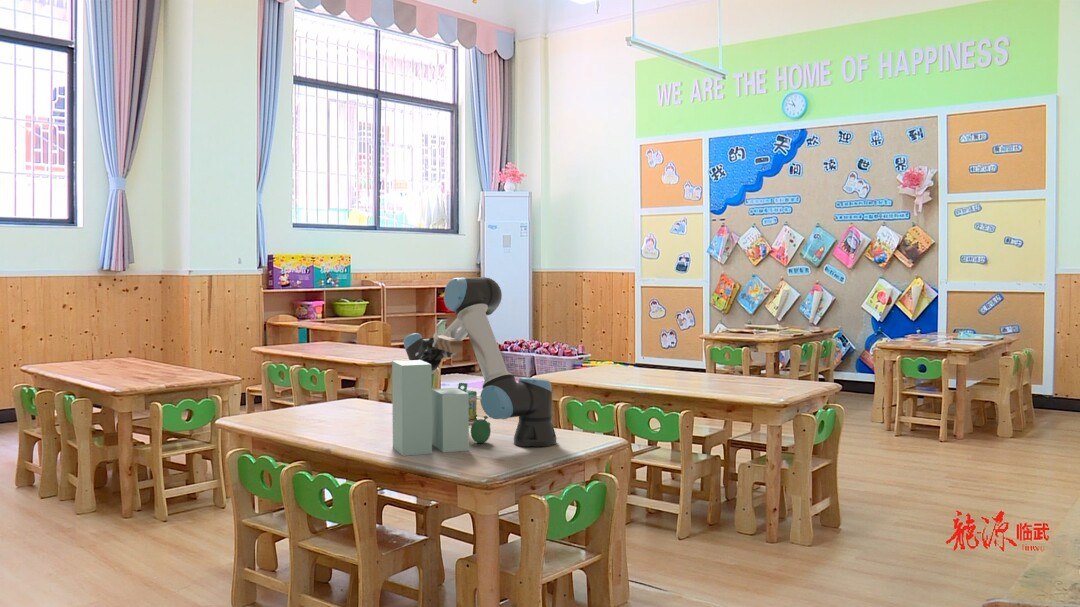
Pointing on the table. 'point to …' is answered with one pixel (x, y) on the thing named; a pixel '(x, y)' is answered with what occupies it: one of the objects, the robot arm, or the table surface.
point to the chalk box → (470, 400)
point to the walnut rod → (449, 344)
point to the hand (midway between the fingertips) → (443, 335)
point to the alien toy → (480, 430)
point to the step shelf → (426, 412)
